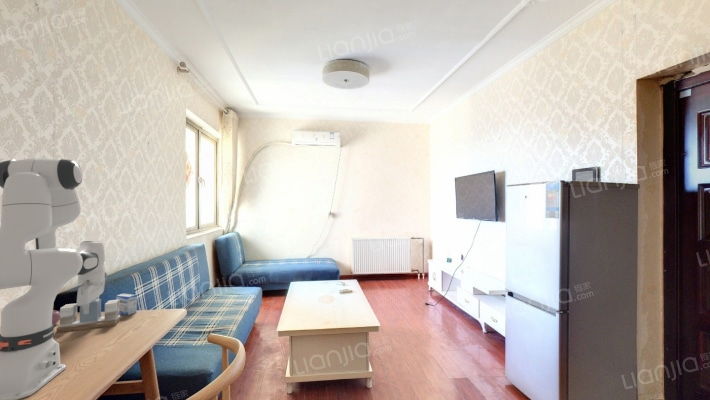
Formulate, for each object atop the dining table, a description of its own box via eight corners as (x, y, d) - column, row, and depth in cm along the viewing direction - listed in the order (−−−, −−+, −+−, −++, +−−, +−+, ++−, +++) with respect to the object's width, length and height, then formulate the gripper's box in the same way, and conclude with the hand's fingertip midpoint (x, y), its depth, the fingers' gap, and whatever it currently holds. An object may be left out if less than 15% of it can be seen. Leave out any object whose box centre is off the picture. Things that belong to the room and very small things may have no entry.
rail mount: (116, 325, 136) (116, 303, 136) (56, 332, 128) (56, 309, 128) (121, 318, 143) (121, 298, 143) (65, 324, 135) (65, 303, 135)
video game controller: (59, 328, 136) (66, 311, 139) (49, 327, 132) (57, 309, 135) (38, 327, 136) (46, 310, 140) (27, 326, 132) (36, 308, 136)
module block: (97, 320, 135) (97, 300, 135) (79, 322, 132) (80, 302, 132) (100, 317, 139) (101, 297, 139) (83, 319, 136) (84, 299, 136)
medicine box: (114, 313, 149) (115, 295, 149) (123, 310, 154) (124, 293, 154) (128, 315, 148) (128, 297, 148) (136, 312, 152) (137, 294, 152)
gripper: (91, 283, 127) (91, 317, 127) (108, 272, 146) (107, 301, 146) (71, 284, 125) (71, 319, 125) (91, 273, 144) (90, 303, 143)
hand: (90, 309), depth 136 cm, fingers open, 8 cm apart
